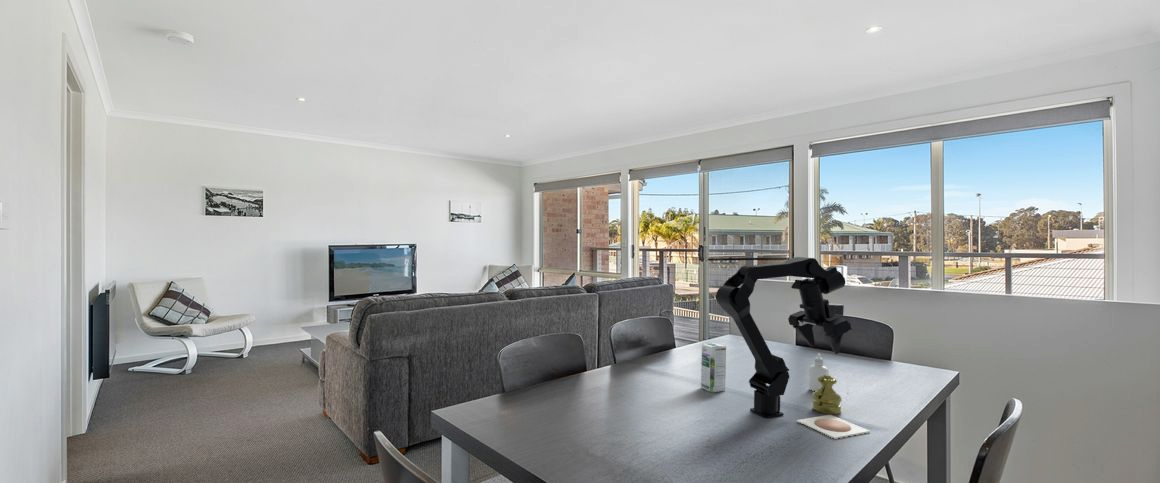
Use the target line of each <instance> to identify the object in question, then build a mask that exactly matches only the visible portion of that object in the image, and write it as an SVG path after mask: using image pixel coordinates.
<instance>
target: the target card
mask: <svg viewBox="0 0 1160 483" xmlns="http://www.w3.org/2000/svg"><path fill="white" fill-rule="evenodd" d="M796 422H797V423H798V422H799V423H798V424H800V423H801V424H800V425H802V424H804V425H806V426H809V427H811V428H813V429H815V430H817V431H819V432H821V433H820V434H822V433H823V434H822V435H824V434H825V436H826V435H827V436H826V437H828V436H829V437H828V438H830V437H831V439H832V438H834V439H833V440H839V439H838V438H840V439H844V438H843V437H845V438H849V437H848V436H851V437H854V435H856V436H859V435H860V434H861V435H865V434H864V433H866V434H870V433H871V430H869V429H866V428H864V427H861V426H860V425H856V424H854V423H852V422H850V421H847V420H844V419H843V418H839V417H837V416H836V415H834V414H833V415H832V414H825V415H820V416H819V415H818V416H813V417H808V418H801V419H797V420H796ZM804 425H803V426H804ZM806 426H805V427H806ZM809 427H808V428H809ZM811 428H810V429H811ZM813 429H812V430H813ZM815 430H814V431H815ZM817 431H816V432H817ZM819 432H818V433H819ZM869 432H870V433H869Z"/></svg>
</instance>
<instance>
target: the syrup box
mask: <svg viewBox="0 0 1160 483" xmlns="http://www.w3.org/2000/svg"><path fill="white" fill-rule="evenodd" d="M700 364H701V366H700V367H701V368H700V369H701V370H700V374H701V375H700V388H701V389H703V390H705V391H707V392H710V393H718V392H723V391H726V375H727V371H726V368H727V345H722V344H719V343H716V342H705V343H702V344H701V362H700Z"/></svg>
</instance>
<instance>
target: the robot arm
mask: <svg viewBox="0 0 1160 483" xmlns="http://www.w3.org/2000/svg"><path fill="white" fill-rule="evenodd" d="M818 261H819V260H817V259H816V258H815V257H806V256H805V257H803V256H802V257H801V256H796V257H793V258H788V259H786V260H785V261H782V262H775V263H766V264H754V265H747V264H745V265H742V266H741V267H739V269H738V270H737V271H736V273H734V274H733V275H732V276H731V277H729V278H728V279H727V280H726V281H725V282H724V283H723V285H722V286H720V287H719V288H718V289H717V291H716V294H715V299H716V302H717V303H718V304H719V306H720V307H721V308H722V310H723V311H724V312H725V313H726V314H728V315H729V316H730V317H731V318H732V319H733V321H734V323H735V325H736V326H737V328H738V330H739V332H740V334H741V336H742V337H743V340H744V341H745V343H746V345H747V347H748V349H749V351H750V352H751V354H752V356H753V358H754V369H755V373H754V374H753V375H752V376H751V377H750V379H749V380H748V384H749V386H750V388H752V389H755V390H753V393H754V394H753V407H750V408H749V411H751V412H753V413H755V414H756V415H758V416H761V417H763V418H765V419H769V418H773V417H780V416H784V412H781V396H785V393H786V389H787V386H788V383H789V380H790V378H791V377H790V373H789V371H790V369H789V368H788V366H787V365H786V362H785V360H784V359H783V358H782V357H780V356H777V355H774V354H773V353H772V352H771V350H770V348H769V346H768V345H767V342H766V341H765V339H764V336H763V335H762V333H761V331H760V330H759V327H758V325H757V323H756V322H755V320H754V318H753V316H752V315H751V302H750V299H749V298H750V297H751V295H752V294H753V293H754V290H755V285H756V282H757V281H758V280H764V279H765V280H766V279H773V278H774V279H776V278H784V277H795V278H804V279H802V280H801V279H795V280H794V282H793V283H792V285H791V286H790V288H791V289H792V290H793V289H795V290H798V291H799V296H800V301H801V303H800V304H799V308H800V309H803V310H799V311H797V312H795V313H792V314H790V315H789V317H788V320H787V321H788V323H789V325H790V326H792V328H793V329H795V330H796V331H797V332H798V333H799V335H801V337H802V338H803V339H804V340H805V341H806V342H807V344H808V345H809V347H811V348H814V347H815V346H816V342H815V335H814V330H813V327H814V326H819V327H823V331H824V333H825V334H824V336H825V338H826V340H827V343H828V344H829V346H830V347H831V349H832V352H834V354H835V355H838V354H840V350H841V343H842V338H843V335H844V334H846V333H848V332H849V331H851V330H853V329H852V328H853V327H852V325H851V321H849V320H848V319H844V318H840V317H844V310H845V309H844V307H845V306H844V304H841V303H834V302H830V301H829V299H824V297H823V296H824V295H829V294H830V293H833V292H836V291H838V290H840V289H842V288H844V287H845V285H846V278H845V277H844V275H843V274H842V272H840V271H839V270H838V268H837V266H828V267H827V268H824V267H823V266H822V265H820V264H819V262H818ZM823 294H824V295H823ZM834 316H840V317H837V318H834ZM832 318H833V319H832ZM829 319H831V320H829Z"/></svg>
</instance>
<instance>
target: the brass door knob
mask: <svg viewBox="0 0 1160 483" xmlns="http://www.w3.org/2000/svg"><path fill="white" fill-rule="evenodd" d="M817 380H818V381H819V382H820V383H821V385H822V387H821V388H820V389H818V390H817V391H815V392H814V391H812V398H813V400H811V401H812V403H811V404H812V405H811V406H812V409H813V410H814V411H815V410H816V411H815V412H817V411H819V412H818V413H820V412H822V413H821V414H824V413H827V414H826V415H832V414H833V415H840V414H841V412H842V404H841V402H842V396H841V395H840V394H839V393H837V392H836V390H834V388H833V386H834V385H835V384H836V383H837V382H838V381H837V380H838V379H836V378H835V377H833V376H831V375H830V374H829V375H824V376H820V377H818V378H817Z"/></svg>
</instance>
